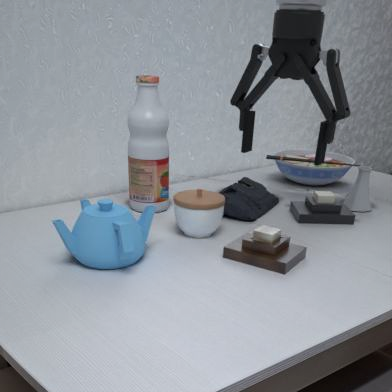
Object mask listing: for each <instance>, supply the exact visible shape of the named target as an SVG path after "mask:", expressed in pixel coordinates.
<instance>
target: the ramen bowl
mask: <svg viewBox="0 0 392 392" xmlns="http://www.w3.org/2000/svg"><path fill="white" fill-rule="evenodd" d="M315 155H316V149H307V148H293V149H291V148H290V149H281V150H277V151H275V152H274V153H272V154H266V157H265V159H266V160H274V162H275V164H276V167H277V168H278V170H279V172H280V173H281V175H282V176H284V177H285V178H287V179H288V180H290V181H292V182H294V183H296V184H299V185H305V186H315V187H317V186H318V187H319V186H325V185H329V184H333V183H335V182H337V181H339V180H341V179H343V178H344V176H345V175H346V174H347V173H348V171H350V169H352V167H359V166H361V164H355V163H356V160H355V159H354V158H352V157H351V156H348V155H345V154H342V153H338V152H333V151H328V150H326V154H325V160H324V163H322V164H320V165H318V166H317V165H314V161H315Z"/></svg>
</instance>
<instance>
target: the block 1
mask: <svg viewBox="0 0 392 392" xmlns="http://www.w3.org/2000/svg"><path fill="white" fill-rule="evenodd" d="M290 241H291V236H288V235H284V234H281V237H280V239H279V240H278V241H277V242H275V243H274V244H269V243H265V242H261V241H257V240H253V232H252V233H251V232H246V233H245V234H242V235H241V236H239V237H238V238H236V239H234V240H232V241H231V242H230V243H228V244H226V245H224V246H223V250H222V258H224V259H226V260H230V261H234V262H238V263H241V264H244V265H247V266H251V267H255V268H259V269H263V270H266V271H270V272H273V273H274V272H275V273H277V274H281V275H283V276H284V275H286V274H287V273H289V272H290V271H291V270H292V269H293V268H295V267H296V266H297V265H298V264H299V263H300V262H302V261H303V260H304V259H305V258H306V254H307V249H308V247H307V246H304V245H300V244H296V243H293V242H290Z"/></svg>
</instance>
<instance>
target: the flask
mask: <svg viewBox="0 0 392 392" xmlns="http://www.w3.org/2000/svg"><path fill="white" fill-rule="evenodd" d="M357 167H358V169H357V170H358V172H357V173H358V174H357V177H356V179H355V181H354V184H353V186H352V187H351V189H350V191H349V192H348V194H347V195H346V197H345V199H344V201H342V202H343V203H344V204H345V205H346V206H347V207H348V208H349V209H350V210H351V211H352V212H360V213H361V212H363V213H365V212H371V211H372V209H373V207H372V202H371V193H370V175H371V172H372V171H373V168H372V167H371V166H366V165H362V166H361V165H360V166H357Z"/></svg>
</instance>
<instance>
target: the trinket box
mask: <svg viewBox="0 0 392 392" xmlns="http://www.w3.org/2000/svg"><path fill="white" fill-rule="evenodd" d="M172 200H173V213H174V219H175V221H176V224H177V227H179V229H180V230H181V231H183V234H184V235H185V236H187V237H189V238H197V239H204V238H208V237H210V236H212V235H213V233H214V232H216V231H217V229H218V228H219V227H220V225H221V223H222V220H223V217H224V214H223V213H224V204H225V197H224V196H223V195H222V194H219V192H216V191H213V190H207V189H203V188H202V187H197V188H196V189H186V190H181V191H178V192H176V193H174V195H173V199H172Z"/></svg>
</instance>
